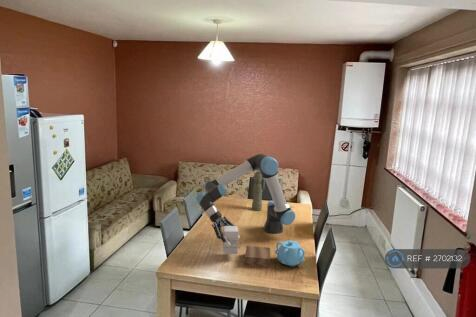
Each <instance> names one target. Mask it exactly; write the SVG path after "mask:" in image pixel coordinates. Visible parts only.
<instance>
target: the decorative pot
mask: <svg viewBox="0 0 476 317" xmlns="http://www.w3.org/2000/svg"><path fill="white" fill-rule="evenodd" d="M279 244H280V246H279ZM275 246H276V250H275V254H276V258H277V261H278V262H279V263H281V264H284V265H286V266H289V267H296V266H297V265H298V264H300V263H304V262H305V260H306V259H305V258H304V256H305V255H306V250H305V249H304V248H303V247H301V245H300V244H299V242H298V241H297V240H285V241H278V242H277V243H276V245H275Z"/></svg>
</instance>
